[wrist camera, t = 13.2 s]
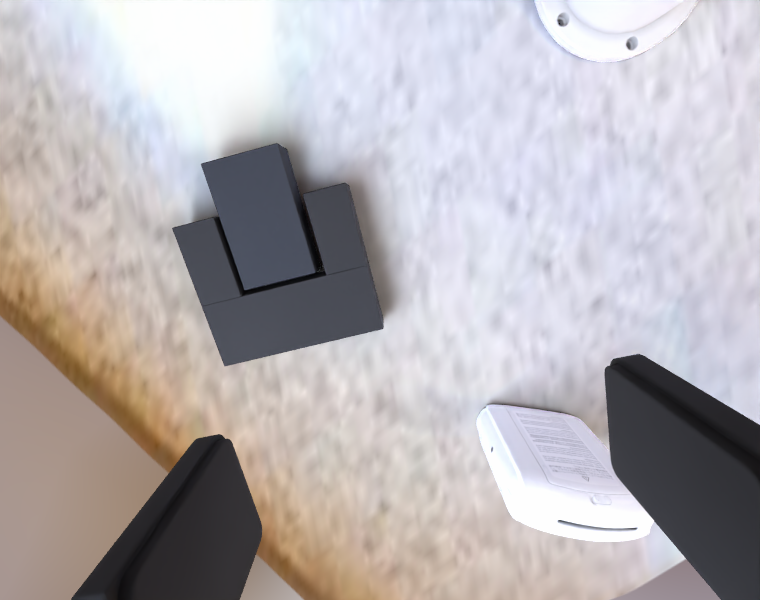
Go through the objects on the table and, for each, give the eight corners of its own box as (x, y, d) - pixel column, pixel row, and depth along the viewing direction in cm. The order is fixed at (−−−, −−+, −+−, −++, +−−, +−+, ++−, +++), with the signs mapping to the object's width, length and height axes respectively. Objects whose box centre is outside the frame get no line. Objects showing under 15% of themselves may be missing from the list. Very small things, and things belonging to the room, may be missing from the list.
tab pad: (217, 167, 31) (200, 163, 28) (286, 148, 31) (277, 143, 28) (256, 282, 34) (244, 290, 31) (321, 266, 33) (315, 272, 30)
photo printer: (470, 437, 37) (513, 547, 25) (479, 398, 36) (528, 494, 24) (571, 450, 38) (660, 564, 26) (583, 412, 37) (681, 513, 25)
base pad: (190, 225, 32) (171, 228, 29) (348, 184, 31) (345, 182, 29) (237, 353, 35) (224, 366, 32) (383, 318, 34) (383, 328, 31)
